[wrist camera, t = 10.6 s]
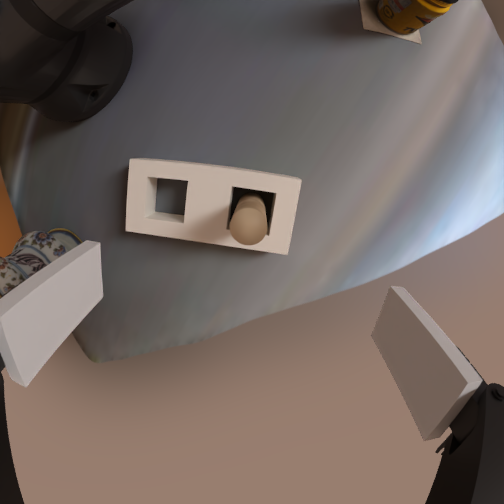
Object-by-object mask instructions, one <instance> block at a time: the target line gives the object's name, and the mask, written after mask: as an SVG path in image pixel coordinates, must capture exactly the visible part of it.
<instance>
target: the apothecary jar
mask: <svg viewBox="0 0 504 504" xmlns="http://www.w3.org/2000/svg"><path fill="white" fill-rule="evenodd" d="M81 243H83V242H82V241H81V240H80V238H79V237H78V236H77V235H75V234H74V233H73V232H71V231H69V230H67V229H64V228H56V229H52V230H51V231H49V232H48V233H46V232H41V231H33V232H29V233H27V234H25V235H23V236H22V237H21V238H20V239H19V240H18V242H17V243H16V245H15V247H14V249H13V252H12V254H10V255H8V256H7V257H5V258H2V257H0V298H1V297H2V296H3V295H4V294H5V293H8V291H9V290H11V289H12V288H13V287H15V286H16V285H18V284H21V283H22V282H24V281H25V280H27V279H28V278H30V277H31V276H32V275H34V274H35V273H37V272H38V271H40V270H41V269H43V268H44V267H46V266H47V265H49V264H50V263H52V262H53V261H55V260H56V259H58V258H59V257H61V256H62V255H64V254H65V253H67V252H69V251H70V250H72V249H73V248H75V247H77V246H78V245H80V244H81Z"/></svg>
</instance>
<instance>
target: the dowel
mask: <svg viewBox="0 0 504 504" xmlns="http://www.w3.org/2000/svg"><path fill="white" fill-rule="evenodd" d="M230 232H231V235H232V237H233V238H234V239H235V240H236V241H237V242H238V243H240V244H243V245H255V244H257V243H259V242H260V241H262V240H263V238H264V237H265V235H266V233H267V219H266V211H265V204H264V200H263V199H262V197H261V196H260V195H258V194H257V193H252V192H250V193H246V194H244V195H243V196H242V197H241V198H240V199H239V202H238V204H237V207H236V209H235V212H234V214H233V217H232V219H231V222H230Z"/></svg>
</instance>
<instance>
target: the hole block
mask: <svg viewBox="0 0 504 504" xmlns="http://www.w3.org/2000/svg"><path fill="white" fill-rule="evenodd" d="M158 178H166V179H176V180H185V181H188V186H187V195H186V205H185V215H178V214H170V213H162V212H155V204H156V191H157V180H158ZM301 181H302V180H301V179H299V178H297V177H293V176H287V175H282V174H276V173H269V172H263V171H257V170H250V169H243V168H236V167H229V166H221V165H213V164H204V163H195V162H185V161H175V160H163V159H151V158H135V159H130V163H129V175H128V188H127V206H126V231H129V232H136V233H143V234H150V235H156V236H163V237H170V238H177V239H184V240H190V241H197V242H204V243H211V244H218V245H224V246H231V247H238V248H244V249H251V250H258V251H265V252H271V253H278V254H285V255H288V250H289V245H290V240H291V235H292V230H293V224H294V219H295V214H296V209H297V203H298V198H299V192H300V187H301ZM234 187H240V188H247V189H253V190H260V191H266V192H273V193H274V196H273V202H272V208H271V214H270V219H269V225H268V227H267V233H266V235H265V237H264V238H263V240H262V241H260V242H259V243H257V244H255V245H243V244H240V243H238V242H237V241H236V240H235V239H234V238H233V237H232V235H231V232H230V222H229V220H230V212H231V205H232V198H233V191H234Z"/></svg>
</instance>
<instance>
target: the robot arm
mask: <svg viewBox="0 0 504 504" xmlns="http://www.w3.org/2000/svg"><path fill="white" fill-rule="evenodd" d="M132 1H134V0H0V102H1V103H23V104H29V105H30V106H32V107H33V108H34V109H36V110H37V111H39V112H40V113H41V114H43V115H44V116H46V117H47V118H49V119H52V120H55V121H62V122H77V121H81V120H84V119H86V118H89V117H91V116H92V115H94V114H96V113H97V112H99V111H100V110H101V109H102V108H104V107H105V106H106V105H107V104H108V103H109V102H110V101H111V100H112V98H113V97H114V96H115V95H116V93H117V92H118V91H119V89H120V88H121V86H122V84H123V82H124V80H125V78H126V76H127V74H128V71H129V68H130V65H131V61H132V52H133V48H132V41H131V37H130V35H129V33H128V31H127V30H126V29H125V27H124V26H122V25H121V24H120V23H119V22H118V21H116V20H115V19H113V18H111V17H109V16H107V15H109V14H111V13H112V12H114V11H116V10H117V9H119V8H121V7H123V6H124V5H126V4H128V3H130V2H132ZM102 298H103V286H102V272H101V251H100V243H99V242H94V241H88V240H86V241H85V242H83V243H81V244H80V245H78V246H77V247H75V248H73V249H72V250H70V251H69V252H67V253H65V254H64V255H62V256H61V257H59V258H58V259H56V260H55V261H53V262H52V263H50V264H49V265H47V266H46V267H44V268H43V269H41V270H40V271H38V272H37V273H35V274H34V275H32V276H31V277H30V278H28V279H27V280H25V281H24V282H22V283H21V284H18V285H16V286H15V287H13V288H12V289H11V290H9V291H8V293H5V294H4V295H3V296H2V297H1V298H0V504H24V502H23V498H22V495H21V492H20V488H19V484H18V480H17V477H16V473H15V468H14V464H13V459H12V454H11V448H10V443H9V437H8V429H7V421H6V411H5V400H4V399H5V398H4V380H3V376H2V374H1V371H2V370H3V368H4V367H6V369H7V371H8V374H9V376H10V378H11V379H12V380H13V381H15V382H17V383H19V384H20V385H22V386H24V387H27V386H28V384H29V383H30V382H31V380H32V379H33V378H34V377H35V375H36V374H37V373H38V372H39V370H40V369H41V368H42V367H43V365H44V364H45V363H46V362H47V360H48V359H49V358H50V357H51V356H52V354H53V353H54V352H55V351H56V349H57V348H58V347H59V346H60V345H61V343H62V342H63V341H64V340H65V339H66V338H67V337H68V336H69V334H70V333H71V332H72V331H73V330H74V329H75V328H76V326H77V325H78V324H79V323H80V322H81V321H82V320H83V319H84V317H85V316H86V315H87V314H88V313H89V312H90V311H91V310H92V309H93V308H94V306H95V305H96V304H97V303H98V302H99V301H100V300H101V299H102ZM371 336H372V338H373V340H374V342H375V344H376V345H377V347H378V349H379V351H380V353H381V354H382V357H383V358H384V360H385V362H386V364H387V366H388V368H389V370H390V372H391V374H392V376H393V378H394V380H395V381H396V384H397V386H398V388H399V390H400V391H401V394H402V396H403V398H404V400H405V402H406V404H407V406H408V408H409V410H410V412H411V414H412V416H413V418H414V420H415V423H416V425H417V427H418V429H419V431H420V433H421V436H422V438H423V440H424V441H426V440H431V439H435V438H439V437H440V436H441V435H442V434H443V433H444V432H445V430H446V429H447V428H448V427H450V428H451V430H452V433H451V434H450V435H449V436H448V438H447V439H446V440H445V441H444V442H443V443H442V444H441V445H440V446H439V447H438V449H437V450H436V453H438V452H439V451H440V450H441V449H442V448H444V451H443V452H442V454H441V455H442V458H441V462H440V465H439V468H438V471H437V474H436V477H435V480H434V482H433V485H432V488H431V491H430V493H429V496H428V498H427V501H426V503H425V504H504V387H503V386H501V385H499V384H496V383H491V384H489V385H487V384H486V382H485V381H484V379H483V378H482V377H481V375H480V374H479V373H478V372H477V370H476V369H475V368H474V367H473V365H472V364H470V362H469V360H468V359H467V358H466V357H465V355H464V354H463V353H462V352H461V350H460V349H459V348H458V347H457V346H455V345H454V344H453V342H451V340H450V339H449V338H448V337H447V335H446V334H445V333H444V332H443V331H442V330H441V328H440V327H439V326H438V325H437V324H436V323H435V322H434V320H433V319H432V318H431V317H430V316H429V315H428V314H427V313H426V311H425V310H424V309H423V308H422V307H421V306H420V305H419V304H418V303H417V302H416V301H415V299H414V298H413V297H412V296H411V295H410V294H409V293H408V292H407V291H406V290H405V289H404V288H403V287H396V286H390V287H389V290H388V293H387V296H386V299H385V301H384V304H383V307H382V310H381V312H380V315H379V317H378V320H377V322H376V325H375V328H374V330H373V332H372V335H371Z"/></svg>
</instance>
